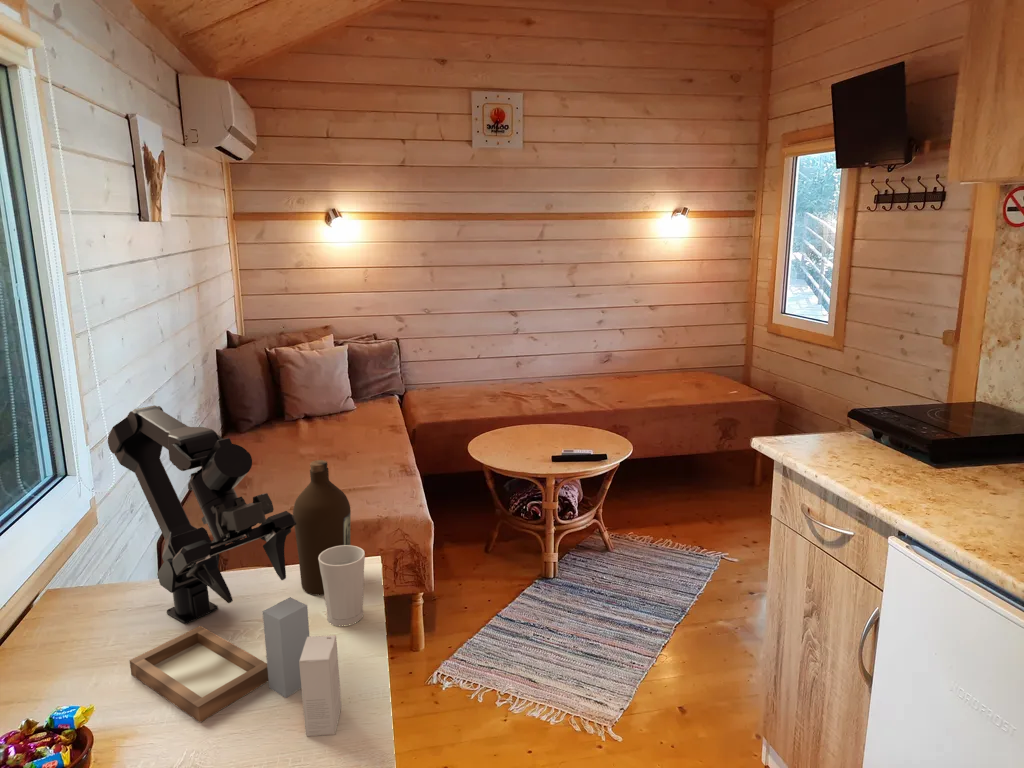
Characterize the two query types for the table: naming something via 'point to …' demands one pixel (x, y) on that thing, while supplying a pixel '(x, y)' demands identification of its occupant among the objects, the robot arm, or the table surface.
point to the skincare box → (320, 685)
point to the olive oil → (319, 524)
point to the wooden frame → (200, 672)
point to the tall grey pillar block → (285, 644)
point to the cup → (343, 583)
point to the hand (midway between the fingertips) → (258, 590)
